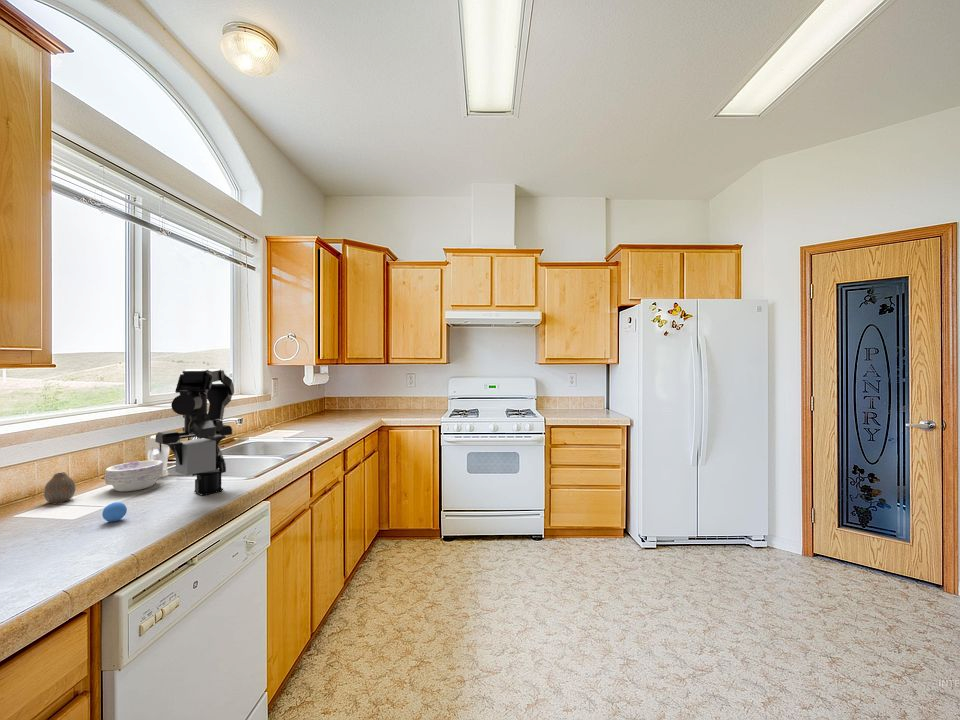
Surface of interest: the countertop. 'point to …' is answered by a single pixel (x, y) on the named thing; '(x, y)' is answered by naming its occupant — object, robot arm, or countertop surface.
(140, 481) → the paper bowls
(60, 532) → the countertop surface
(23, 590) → the countertop surface
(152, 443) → the beer glass
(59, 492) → the brown rounded lump
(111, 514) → the ball
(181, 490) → the countertop surface
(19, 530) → the countertop surface
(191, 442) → the gray rectangular prism
